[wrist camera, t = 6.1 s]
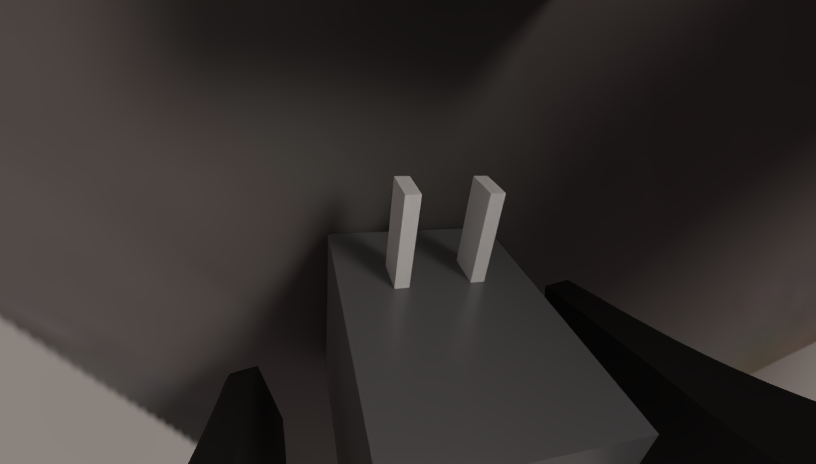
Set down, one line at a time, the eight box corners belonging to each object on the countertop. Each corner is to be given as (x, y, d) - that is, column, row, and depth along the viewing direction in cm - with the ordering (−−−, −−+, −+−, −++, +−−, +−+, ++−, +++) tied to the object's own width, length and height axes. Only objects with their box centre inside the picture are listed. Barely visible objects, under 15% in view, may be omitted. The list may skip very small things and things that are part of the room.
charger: (504, 152, 10) (729, 327, 5) (457, 353, 13) (564, 577, 8) (329, 149, 8) (395, 374, 4) (326, 370, 12) (359, 642, 7)
